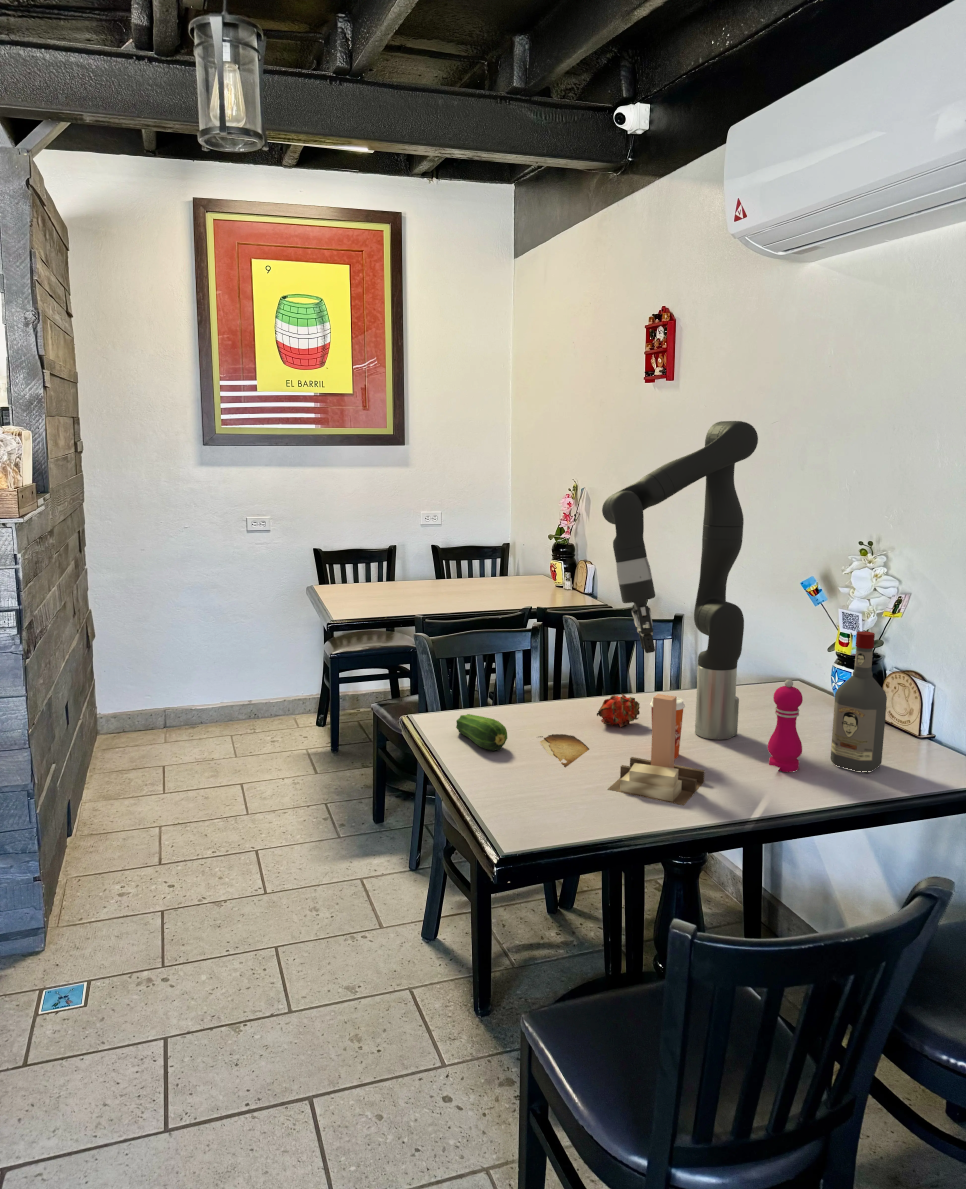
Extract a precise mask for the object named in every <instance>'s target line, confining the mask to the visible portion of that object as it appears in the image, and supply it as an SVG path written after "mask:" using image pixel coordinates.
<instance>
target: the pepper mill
mask: <svg viewBox="0 0 966 1189" xmlns="http://www.w3.org/2000/svg"><path fill="white" fill-rule="evenodd" d="M803 701H804V700H803V694H802V692H801V690H800V689H799V688H797V687H795V686H794V681H793V680H792V679H786V680H784V685H782V686H780V687H777V689H776V690H774V693H773V702H774V703H775V705H776V706H775V708H774V710H775V711H774V714H775V715H776V719H777V720H776V725H775V728H774V731H773V733H772V734H771V735H770V738H769V739H768V744H767V751H768V753H769V754H770V757H769V760H768V765H769V766H773V767H775V768H776V767H777V768H779V769H778V770H777V771H778V772H780V771H782V772H781V773H794V772H793V771H795V772H797V771H799V769H800V760H799V759H798V758H800V756H801V755H802V754H803V745H802V742H801V741H802V740H801V739H800V736H799V733H798V730H797V720H798V719H797V718H798V717H799V716H800V709H799V708H800V706H801V705H802V703H803ZM796 770H797V771H796Z"/></svg>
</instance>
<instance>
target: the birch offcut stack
mask: <svg viewBox="0 0 966 1189" xmlns="http://www.w3.org/2000/svg"><path fill="white" fill-rule="evenodd" d="M681 788H682V781H681V780H678V769H675V768H668V767H660V766H653V765H646V764H638V763H634V765H633V766H632V768H631V769H630V771H629V772H628V773H627V774H626V775H625V776H624V777H622V778H621V779H620V791H624V792H629V793H634V794H639V795H644V796H648V797H653V798H658V799H663V800H668V801H672V802H673V800H674V799H675V798H676V797H677V796H678V795H679V794H680V793H681Z"/></svg>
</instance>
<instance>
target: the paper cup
mask: <svg viewBox="0 0 966 1189" xmlns="http://www.w3.org/2000/svg"><path fill="white" fill-rule="evenodd" d="M676 697H677V701H676V726H675V752H674V760H676V759H678V758H679V754H680V746H681V735H682V725H683V718H684V717H683V716H684V715H683V714H684V709H685V708H686V706H685V702H684V700H683V698H680V697H679V696H676ZM649 706H650V707H651V718H652V717H653V698H652V699H651V702H650V703H649Z"/></svg>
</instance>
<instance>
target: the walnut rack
mask: <svg viewBox="0 0 966 1189" xmlns="http://www.w3.org/2000/svg"><path fill="white" fill-rule="evenodd" d="M634 763H638V764H646V765H651V759H646V758H640V757H636V756H635V757H634V756H630V757H629V765H624V764H621V765H620V770H619V773H620V775H619V776H620V777H619V778H618V779H617V780H616V781H615V782H614V783H613V784H611V785H610V786H609V787H608V788H607V791H612V792H618V793H621V794H627V795H631V796H635V797H642V798H646V799H650V800H656V801H660V802H665V803H670V804H674V805H679V806H685V805H686V803H688V801H689V800H690V799H691V798H692V797H693V796H694V794H695V793H696V792H697V791H698V790H699V788H700V787H702V785H703V784H704V783H705V772H706V771H705V769H699V768H694V767H688V766H682V765H677V764H674V768H675V769H678V780H681V781H682V788H681V793H680V794H679V795H678V796H677V797H676V798H675V799H674V800H673V802H672V801H668V800H663V799H658V798H653V797H648V796H644V795H639V794H634V793H629V792H624V791H620V779H621V778H622V777H624V776H625V775H626V774H627V773H628V772H629V771H630V769H631V768H632V766H633V765H634Z"/></svg>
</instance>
